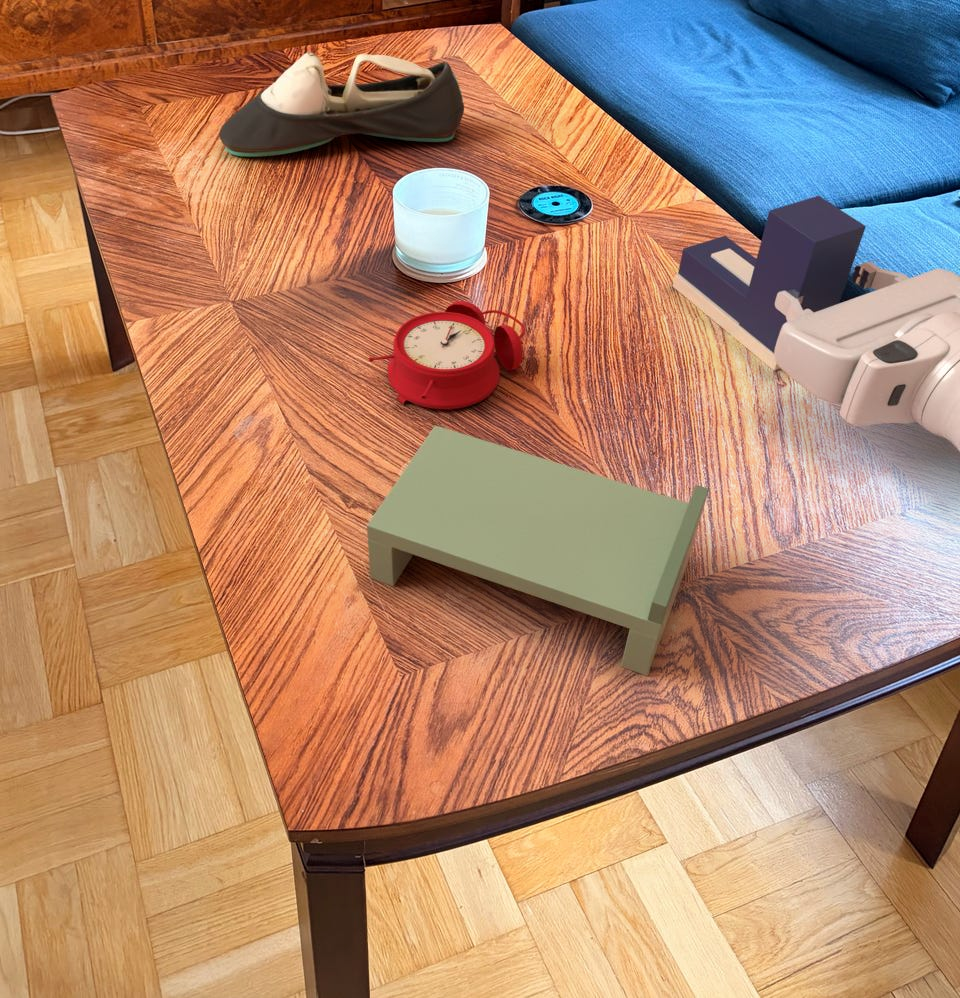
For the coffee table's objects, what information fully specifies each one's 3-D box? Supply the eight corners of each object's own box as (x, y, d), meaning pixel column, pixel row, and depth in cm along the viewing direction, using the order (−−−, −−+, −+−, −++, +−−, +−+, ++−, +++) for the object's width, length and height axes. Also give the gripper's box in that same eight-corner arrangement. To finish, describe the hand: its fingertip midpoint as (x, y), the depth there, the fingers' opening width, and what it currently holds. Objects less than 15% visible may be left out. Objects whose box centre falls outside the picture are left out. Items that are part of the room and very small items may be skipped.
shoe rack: (689, 559, 79) (709, 488, 73) (647, 676, 71) (666, 606, 65) (434, 478, 84) (435, 405, 79) (369, 578, 76) (365, 506, 71)
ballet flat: (217, 130, 127) (203, 46, 119) (450, 109, 133) (451, 28, 126) (225, 169, 120) (211, 82, 112) (470, 145, 126) (472, 62, 119)
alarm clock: (353, 348, 90) (468, 255, 95) (368, 393, 95) (476, 303, 101) (433, 402, 85) (549, 302, 91) (444, 447, 91) (554, 350, 96)
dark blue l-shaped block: (823, 352, 98) (868, 225, 88) (774, 371, 96) (814, 243, 86) (719, 271, 108) (749, 148, 98) (672, 286, 106) (697, 162, 96)
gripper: (1035, 302, 85) (913, 225, 93) (860, 372, 78) (743, 281, 86) (1005, 361, 90) (891, 282, 98) (836, 432, 82) (728, 341, 90)
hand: (821, 282), depth 92 cm, fingers open, 8 cm apart
